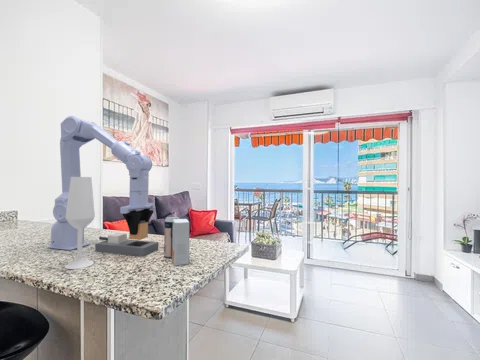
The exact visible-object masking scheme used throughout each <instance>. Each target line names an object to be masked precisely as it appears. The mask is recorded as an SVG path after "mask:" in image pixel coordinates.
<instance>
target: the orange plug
mask: <svg viewBox="0 0 480 360" xmlns="http://www.w3.org/2000/svg"><path fill="white" fill-rule="evenodd" d="M128 235H129V237H128V239H129V240H140V241H142V240H143V239H147V238H148V237H149V222H145V220H139V224H138V232H137V235H131V234H130V231H128Z"/></svg>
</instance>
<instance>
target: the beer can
mask: <svg viewBox="0 0 480 360" xmlns="http://www.w3.org/2000/svg"><path fill="white" fill-rule="evenodd" d="M173 219H180V217H179V216H167V217H165V219H164V235H163V236H164V237H163V238H164V239H163V243H164V244H163V256H164V257H166V258H169V259H172V238H173Z"/></svg>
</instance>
